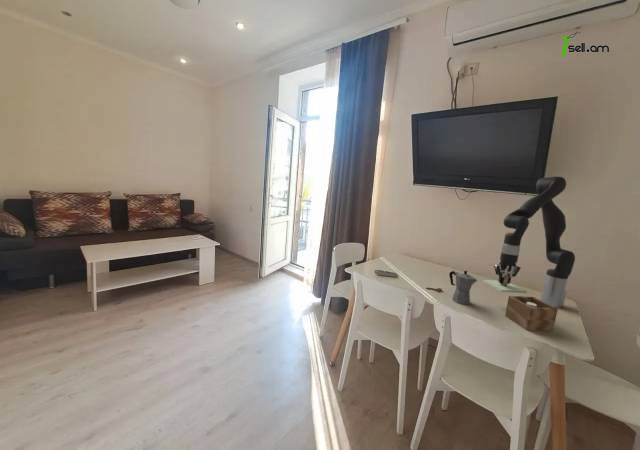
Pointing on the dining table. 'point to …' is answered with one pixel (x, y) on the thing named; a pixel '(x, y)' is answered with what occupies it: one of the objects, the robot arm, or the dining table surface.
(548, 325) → the box
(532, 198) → the robot arm
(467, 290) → the coffeepot
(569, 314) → the dining table surface
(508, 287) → the lid
